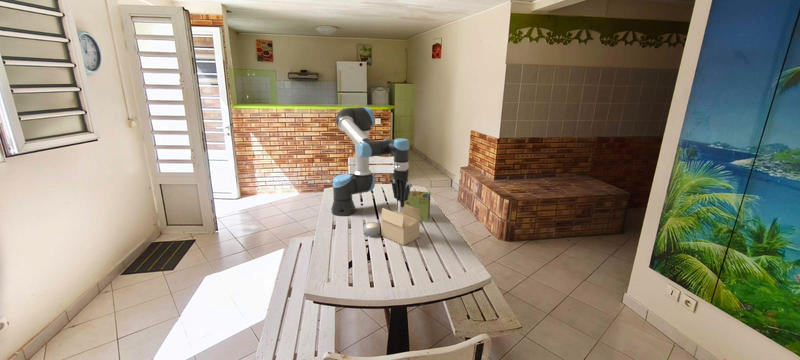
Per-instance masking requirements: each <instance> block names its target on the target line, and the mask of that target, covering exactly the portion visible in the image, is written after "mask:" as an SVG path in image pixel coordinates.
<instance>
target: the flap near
mask: <svg viewBox="0 0 800 360" xmlns="http://www.w3.org/2000/svg"><path fill="white" fill-rule="evenodd" d="M380 219H382V220H385V221H387V222H390V223H392V224H395V225H397V226H400V227H403V221H404V216H403V215H400V214H398V213H397V212H394V211H392V210H389V209H387V208H383V207H382V208H381V216H380Z"/></svg>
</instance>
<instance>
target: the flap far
mask: <svg viewBox="0 0 800 360" xmlns="http://www.w3.org/2000/svg"><path fill="white" fill-rule="evenodd" d="M401 214H406V215H409V216H412V217H414V218H417V219H420V214H419V209H417V208H414V207H411V206H408V205H405V204H404V207H403V212H401Z"/></svg>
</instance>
